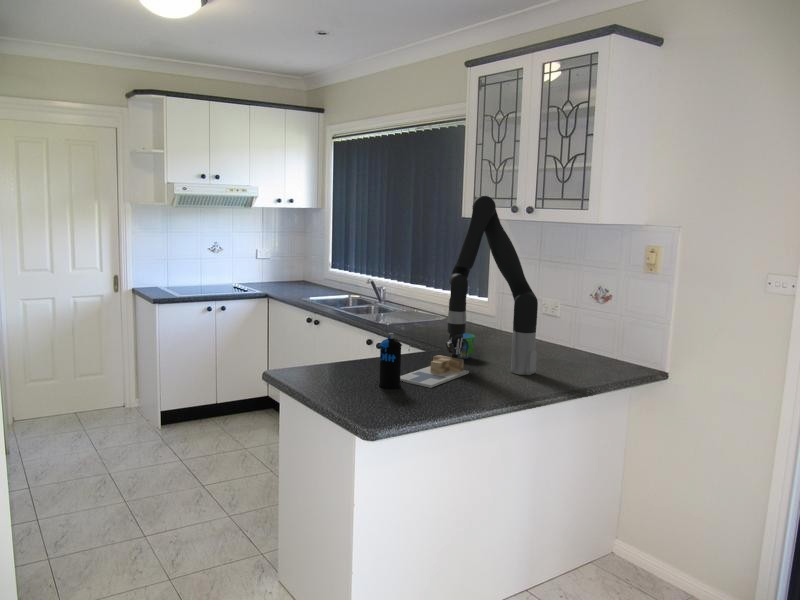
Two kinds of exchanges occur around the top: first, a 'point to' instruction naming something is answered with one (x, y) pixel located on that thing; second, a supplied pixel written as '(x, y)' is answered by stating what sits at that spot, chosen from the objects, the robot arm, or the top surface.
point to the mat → (430, 377)
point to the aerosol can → (390, 363)
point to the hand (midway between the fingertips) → (455, 362)
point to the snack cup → (467, 346)
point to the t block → (446, 364)
